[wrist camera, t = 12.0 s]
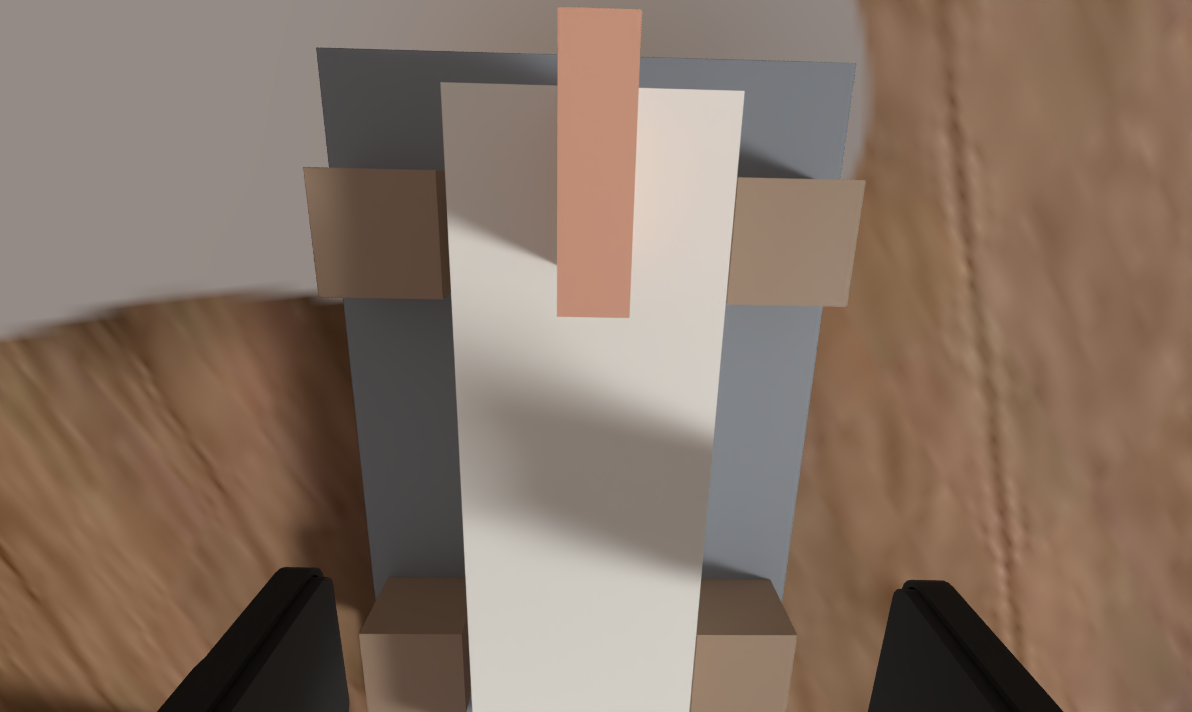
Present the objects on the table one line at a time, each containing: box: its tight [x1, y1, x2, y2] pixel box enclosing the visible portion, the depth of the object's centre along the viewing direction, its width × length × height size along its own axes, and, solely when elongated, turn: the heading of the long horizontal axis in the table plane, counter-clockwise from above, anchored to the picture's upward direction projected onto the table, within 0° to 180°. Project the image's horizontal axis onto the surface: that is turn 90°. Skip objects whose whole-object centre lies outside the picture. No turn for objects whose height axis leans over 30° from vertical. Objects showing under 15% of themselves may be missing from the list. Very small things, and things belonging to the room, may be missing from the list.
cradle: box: [303, 48, 866, 712], centre depth 17 cm, size 22×14×4 cm, turn 179°
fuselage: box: [440, 7, 745, 712], centre depth 13 cm, size 20×5×10 cm, turn 179°
